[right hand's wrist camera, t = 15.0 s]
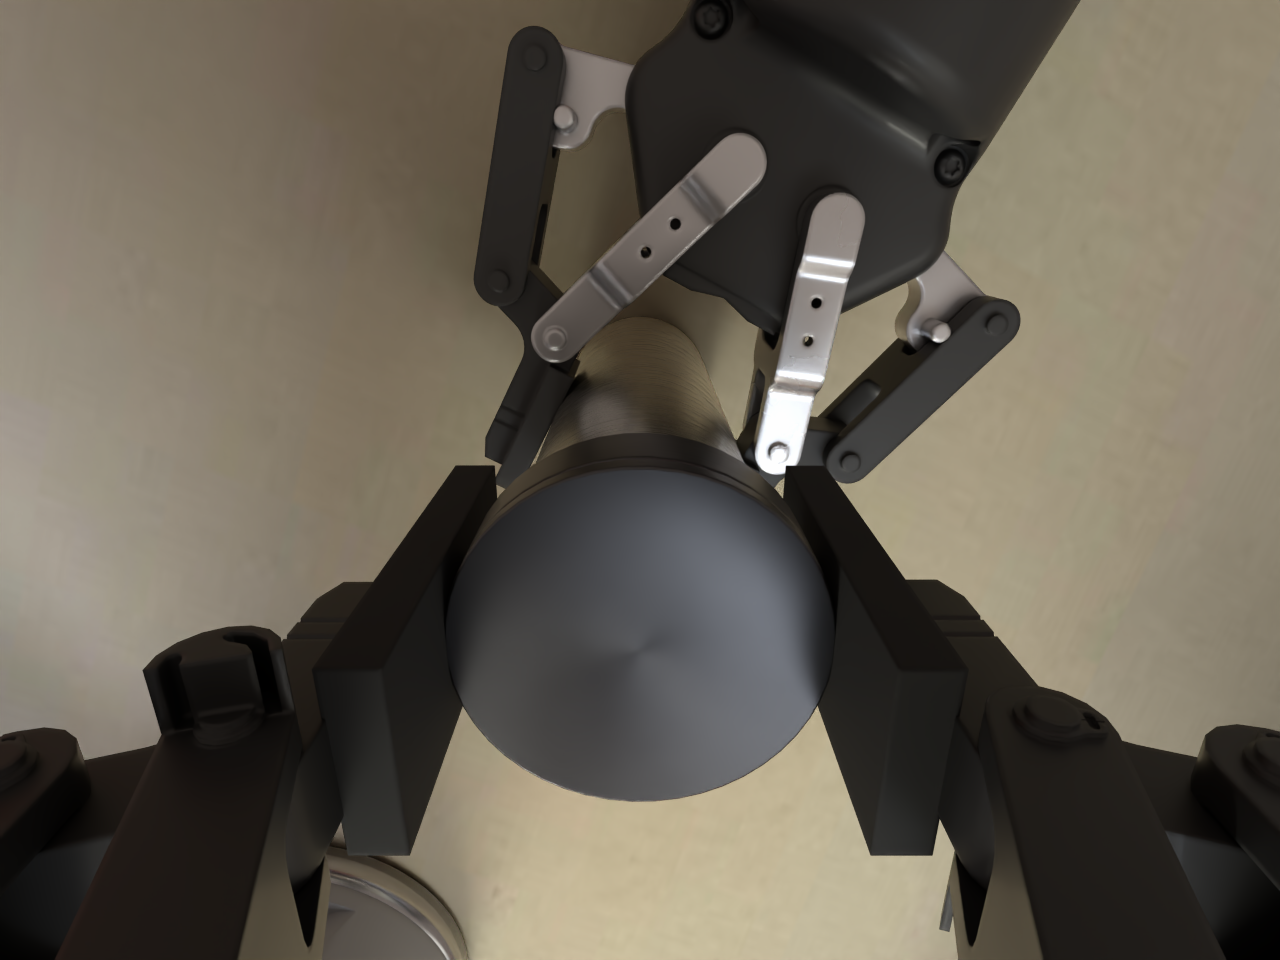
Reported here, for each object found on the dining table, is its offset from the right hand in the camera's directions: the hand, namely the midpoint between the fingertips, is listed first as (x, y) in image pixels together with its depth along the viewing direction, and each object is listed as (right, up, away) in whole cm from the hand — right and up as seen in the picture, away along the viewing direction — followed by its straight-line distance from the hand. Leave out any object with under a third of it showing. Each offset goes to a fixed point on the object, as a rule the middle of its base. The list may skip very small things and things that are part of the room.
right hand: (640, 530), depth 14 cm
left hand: (-1, 0, +6) cm, 6 cm away
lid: (0, -1, -4) cm, 4 cm away
